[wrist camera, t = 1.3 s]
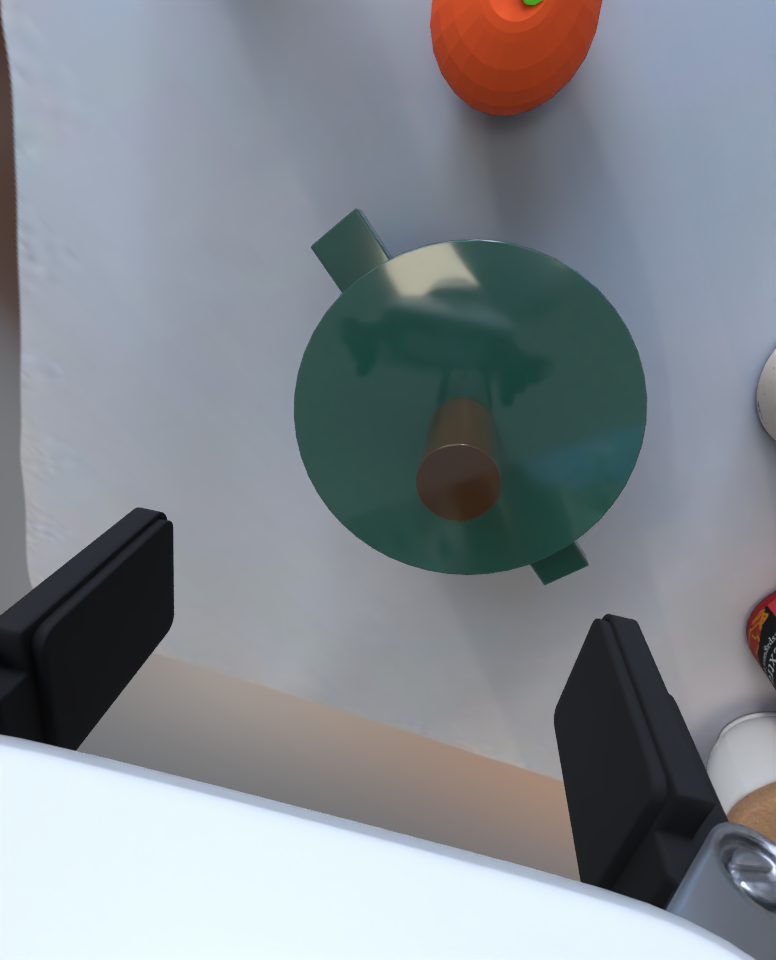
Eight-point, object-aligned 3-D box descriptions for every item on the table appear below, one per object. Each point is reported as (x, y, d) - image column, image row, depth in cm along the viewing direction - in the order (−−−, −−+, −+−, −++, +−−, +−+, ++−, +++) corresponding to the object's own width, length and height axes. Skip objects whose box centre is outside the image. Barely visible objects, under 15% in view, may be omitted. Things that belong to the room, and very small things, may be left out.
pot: (478, 144, 27) (481, 97, 18) (645, 440, 32) (714, 519, 23) (282, 304, 32) (207, 329, 23) (454, 540, 37) (448, 638, 28)
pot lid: (525, 150, 19) (551, 108, 13) (698, 469, 23) (780, 552, 17) (237, 375, 24) (158, 421, 18) (418, 604, 28) (403, 706, 22)
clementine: (595, -98, 23) (643, -232, 16) (620, 86, 25) (670, 34, 19) (417, -12, 25) (398, -100, 18) (456, 151, 27) (451, 124, 21)
